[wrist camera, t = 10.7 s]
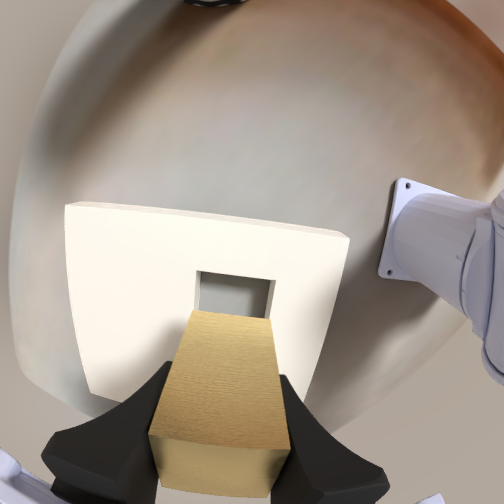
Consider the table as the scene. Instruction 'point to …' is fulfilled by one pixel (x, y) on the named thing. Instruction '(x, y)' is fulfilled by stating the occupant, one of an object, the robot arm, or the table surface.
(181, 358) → the peg
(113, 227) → the socket base
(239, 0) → the white-spotted black cylinder
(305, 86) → the table surface
